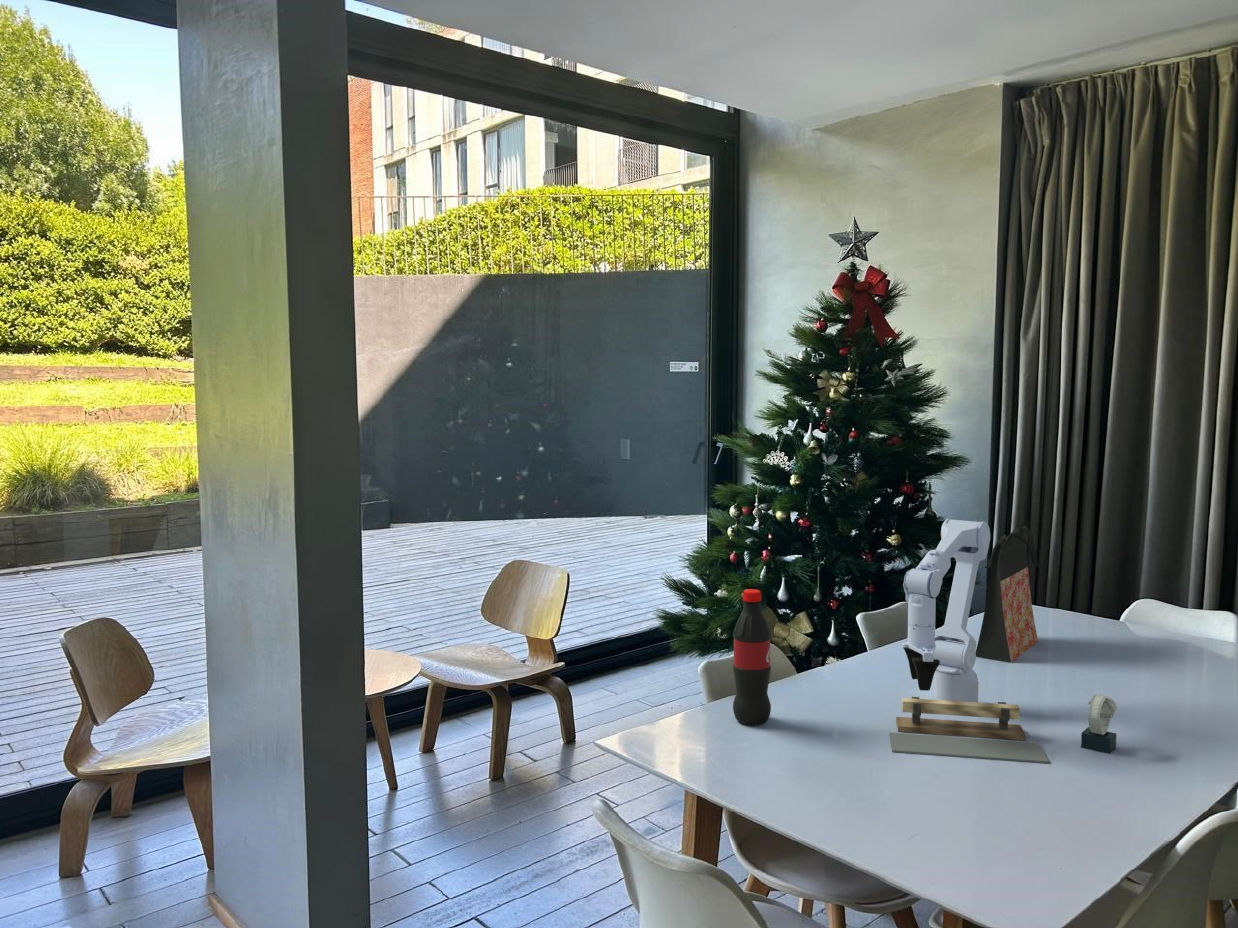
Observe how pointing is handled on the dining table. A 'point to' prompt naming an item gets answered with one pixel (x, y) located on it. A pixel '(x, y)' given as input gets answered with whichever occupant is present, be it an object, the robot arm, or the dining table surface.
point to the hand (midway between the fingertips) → (920, 684)
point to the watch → (1099, 725)
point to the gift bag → (1008, 600)
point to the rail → (960, 708)
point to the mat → (967, 747)
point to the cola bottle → (752, 662)
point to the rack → (961, 726)
